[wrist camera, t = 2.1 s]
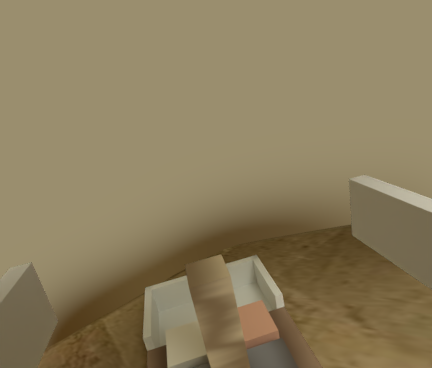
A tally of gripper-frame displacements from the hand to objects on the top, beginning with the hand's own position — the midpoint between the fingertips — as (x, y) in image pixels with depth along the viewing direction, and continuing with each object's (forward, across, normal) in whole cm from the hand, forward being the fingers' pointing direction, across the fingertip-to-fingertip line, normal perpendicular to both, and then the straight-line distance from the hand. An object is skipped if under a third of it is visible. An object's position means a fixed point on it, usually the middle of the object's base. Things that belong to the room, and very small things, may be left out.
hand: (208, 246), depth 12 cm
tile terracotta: (+16, +4, -22) cm, 27 cm away
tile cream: (+16, -3, -22) cm, 27 cm away
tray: (+24, 0, -25) cm, 35 cm away
